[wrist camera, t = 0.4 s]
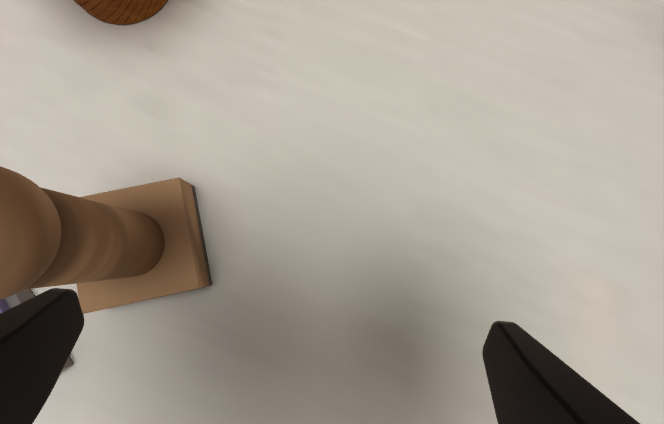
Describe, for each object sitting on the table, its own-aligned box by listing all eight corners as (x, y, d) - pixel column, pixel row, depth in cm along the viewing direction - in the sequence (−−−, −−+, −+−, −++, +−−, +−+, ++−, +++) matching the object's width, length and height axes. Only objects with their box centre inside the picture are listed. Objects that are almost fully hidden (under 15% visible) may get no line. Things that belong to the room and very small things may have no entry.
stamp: (212, 284, 22) (49, 330, 9) (108, 307, 22) (-240, 394, 8) (194, 186, 23) (15, 81, 9) (93, 206, 22) (-255, 128, 9)
